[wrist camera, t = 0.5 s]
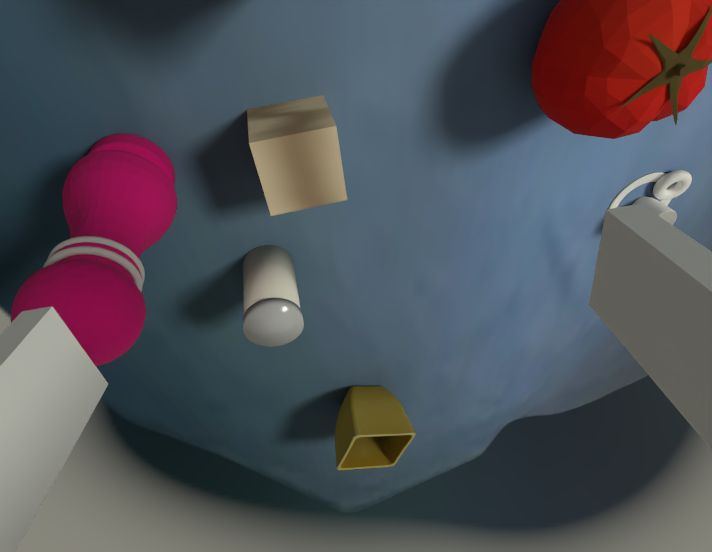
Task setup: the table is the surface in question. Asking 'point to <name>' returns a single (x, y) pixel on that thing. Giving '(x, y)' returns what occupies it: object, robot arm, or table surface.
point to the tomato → (621, 63)
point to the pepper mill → (105, 244)
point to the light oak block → (296, 154)
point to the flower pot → (371, 429)
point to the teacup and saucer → (659, 192)
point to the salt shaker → (270, 297)
